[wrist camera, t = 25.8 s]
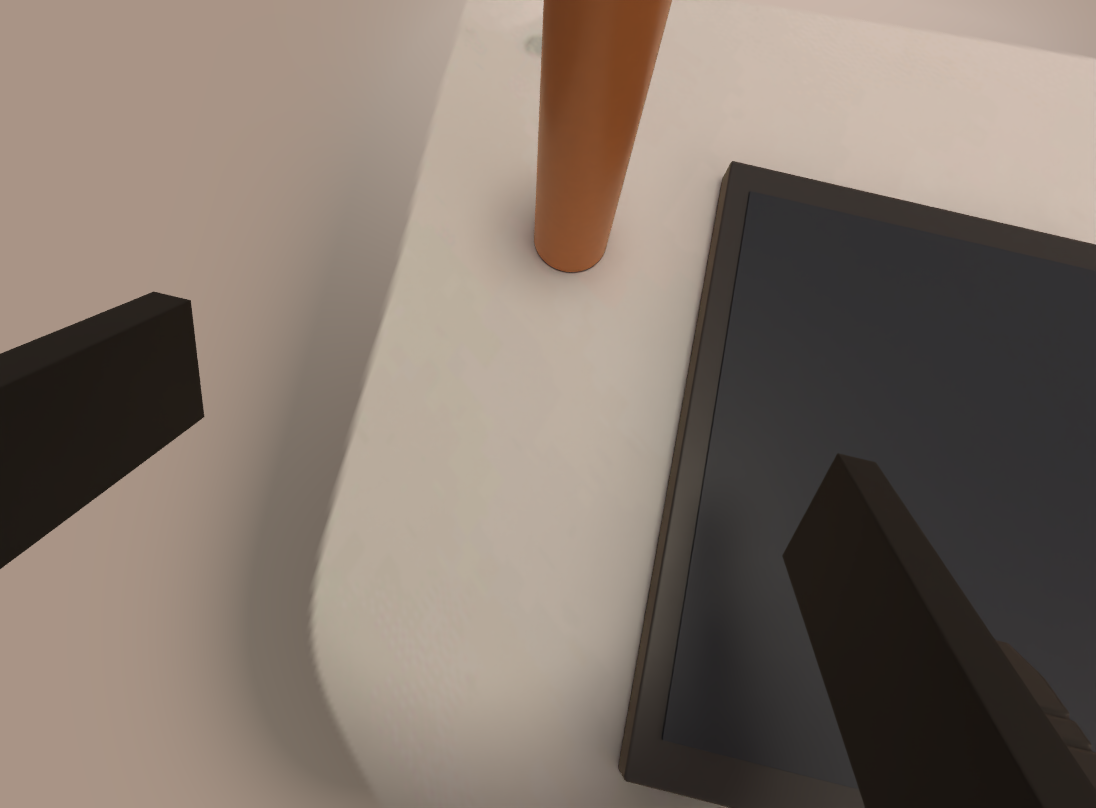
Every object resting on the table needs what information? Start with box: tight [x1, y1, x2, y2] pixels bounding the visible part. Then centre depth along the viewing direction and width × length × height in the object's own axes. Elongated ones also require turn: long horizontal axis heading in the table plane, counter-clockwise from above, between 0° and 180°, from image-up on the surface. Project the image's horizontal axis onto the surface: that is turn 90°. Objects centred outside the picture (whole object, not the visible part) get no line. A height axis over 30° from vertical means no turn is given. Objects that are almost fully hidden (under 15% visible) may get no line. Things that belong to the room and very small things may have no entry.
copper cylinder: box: [534, 0, 672, 272], centre depth 15 cm, size 3×3×12 cm
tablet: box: [619, 161, 1096, 808], centre depth 18 cm, size 14×20×1 cm
